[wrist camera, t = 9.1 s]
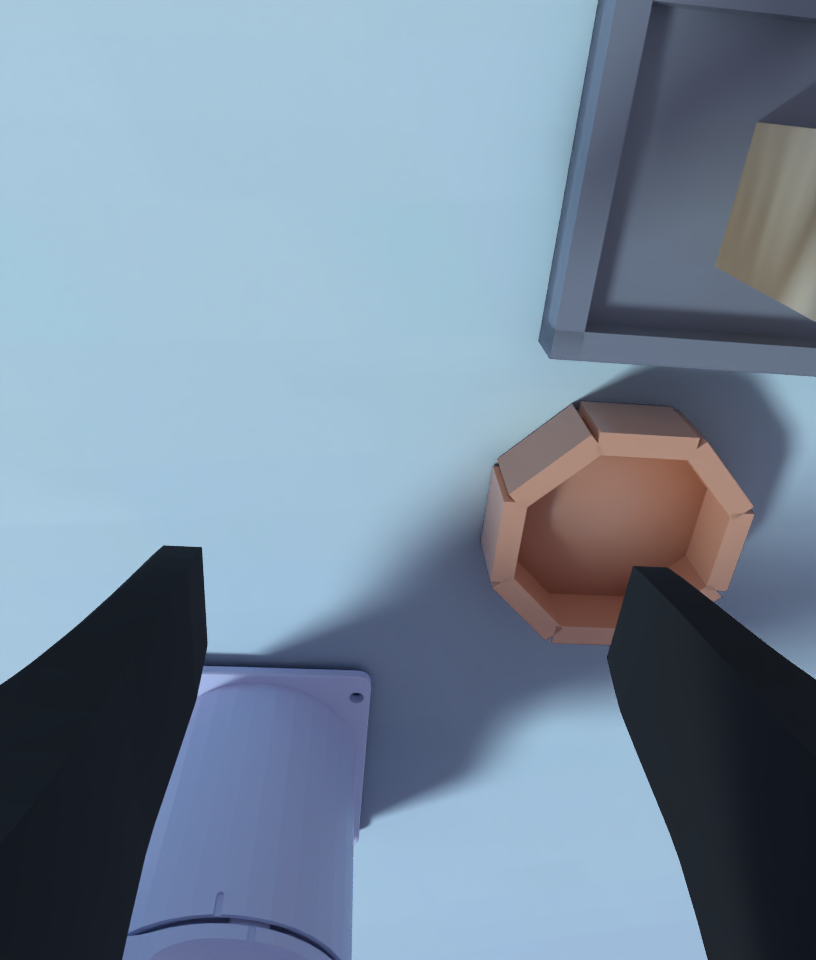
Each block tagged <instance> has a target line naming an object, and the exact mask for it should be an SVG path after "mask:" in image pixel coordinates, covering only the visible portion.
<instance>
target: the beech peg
mask: <svg viewBox="0 0 816 960" xmlns="http://www.w3.org/2000/svg"><path fill="white" fill-rule="evenodd" d="M715 267H717V268H718V269H720V270H722V271H724V272H726V273H728V274H729V275H731V276H733V277H735V278H737V279H738V280H740V281H742V282H744V283H746V284H747V285H749V286H751V287H753V288H755V289H757V290H758V291H760V292H762V293H764V294H766V295H767V296H769V297H771V298H773V299H775V300H776V301H778V302H780V303H782V304H784V305H786V306H787V307H789V308H791V309H793V310H795V311H796V312H798V313H800V314H802V315H804V316H805V317H807V318H809V319H811V320H813V321H815V322H816V128H807V127H798V126H788V125H779V124H769V123H760V122H757V123H756V127H755V130H754V134H753V137H752V141H751V144H750V148H749V151H748V154H747V158H746V161H745V165H744V168H743V172H742V175H741V179H740V182H739V186H738V189H737V193H736V196H735V200H734V203H733V206H732V210H731V213H730V217H729V220H728V224H727V227H726V231H725V234H724V238H723V241H722V245H721V248H720V252H719V255H718V259H717V262H716V265H715Z"/></svg>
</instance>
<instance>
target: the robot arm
mask: <svg viewBox="0 0 816 960" xmlns="http://www.w3.org/2000/svg"><path fill="white" fill-rule="evenodd" d="M206 650H207V627H206V610H205V593H204V576H203V558H202V547H184V546H163V547H161V548H160V549H159V550H158V551H157V552H156V553H155V554H153V555H152V556H151V557H150V558H149V559H148V560H147V561H146V562H145V563H144V564H143V565H142V566H141V567H140V568H139V569H138V570H137V571H136V572H135V573H134V574H133V575H132V576H131V577H130V578H129V579H128V580H126V581H125V582H124V583H123V584H122V585H121V586H120V587H119V588H118V589H117V590H116V591H115V592H114V593H113V594H112V595H111V596H110V597H108V598H107V599H106V600H105V601H104V602H103V603H102V604H101V605H100V606H98V607H97V608H96V609H95V610H94V611H93V612H92V613H91V614H90V615H88V616H87V617H86V618H85V619H84V620H83V621H82V622H81V623H80V624H78V625H77V626H76V627H75V628H74V629H73V630H71V631H70V632H69V633H68V634H66V635H65V636H64V637H63V638H61V639H60V640H59V641H58V642H57V643H55V644H54V645H53V646H52V647H50V648H49V649H48V650H47V651H46V652H44V653H43V654H42V655H41V656H39V657H38V658H37V659H36V660H34V661H33V662H32V663H30V664H29V665H28V666H26V667H25V668H24V669H22V670H21V671H20V672H18V673H17V674H15V675H14V676H13V677H11V678H10V679H8V680H7V681H5V682H4V683H2V684H1V685H0V960H351V957H352V900H353V845H355V844H356V843H357V842H358V839H359V827H360V815H361V803H362V791H363V779H364V767H365V755H366V743H367V731H368V719H369V707H370V695H371V678H370V676H369V675H368V674H367V673H365V672H363V671H357V670H324V669H290V668H257V667H224V666H204V660H205V655H206ZM607 660H608V664H609V668H610V673H611V677H612V681H613V685H614V689H615V693H616V697H617V700H618V704H619V708H620V711H621V714H622V717H623V719H624V722H625V724H626V727H627V730H628V732H629V735H630V737H631V740H632V742H633V745H634V747H635V750H636V752H637V755H638V757H639V759H640V762H641V764H642V767H643V769H644V772H645V774H646V776H647V779H648V781H649V784H650V786H651V789H652V791H653V794H654V796H655V798H656V801H657V803H658V806H659V808H660V811H661V813H662V815H663V818H664V820H665V823H666V825H667V828H668V830H669V833H670V835H671V838H672V841H673V844H674V846H675V849H676V852H677V855H678V858H679V860H680V864H681V867H682V870H683V874H684V877H685V881H686V884H687V887H688V891H689V894H690V897H691V901H692V904H693V908H694V911H695V914H696V918H697V921H698V925H699V929H700V932H701V936H702V940H703V944H704V947H705V951H706V955H707V958H708V960H816V679H814V678H813V677H811V676H810V675H808V674H807V673H806V672H804V671H803V670H801V669H800V668H799V667H797V666H796V665H794V664H793V663H791V662H790V661H789V660H787V659H786V658H785V657H783V656H782V655H781V654H779V653H778V652H777V651H775V650H774V649H773V648H771V647H770V646H769V645H767V644H766V643H765V642H763V641H762V640H761V639H759V638H758V637H757V636H756V635H754V634H753V633H752V632H750V631H749V630H748V629H747V628H745V627H744V626H743V625H742V624H740V623H739V622H738V621H736V620H735V619H734V618H733V617H731V616H730V615H729V614H728V613H726V612H725V611H724V610H723V609H721V608H720V607H719V606H718V605H716V604H715V603H714V602H713V601H711V600H710V599H709V598H708V597H706V596H705V595H704V594H703V593H701V592H700V591H699V590H698V589H696V588H695V587H694V586H692V585H691V584H690V583H689V582H687V581H686V580H685V579H683V578H682V577H681V576H679V575H678V574H676V573H675V572H674V571H672V570H671V569H669V568H668V567H645V566H633V567H632V571H631V574H630V578H629V582H628V585H627V589H626V592H625V596H624V599H623V603H622V606H621V610H620V613H619V617H618V621H617V624H616V628H615V631H614V635H613V638H612V642H611V645H610V649H609V652H608V656H607ZM353 693H361V695H352V694H353Z"/></svg>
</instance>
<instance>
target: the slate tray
mask: <svg viewBox="0 0 816 960" xmlns="http://www.w3.org/2000/svg"><path fill="white" fill-rule="evenodd" d="M757 122H760V123H769V124H779V125H788V126H798V127H807V128H816V0H598V5H597V11H596V17H595V22H594V28H593V34H592V39H591V45H590V51H589V56H588V62H587V68H586V73H585V79H584V85H583V91H582V96H581V102H580V108H579V113H578V119H577V125H576V130H575V136H574V142H573V147H572V153H571V159H570V164H569V170H568V176H567V182H566V187H565V193H564V199H563V204H562V210H561V216H560V221H559V227H558V233H557V238H556V244H555V250H554V255H553V261H552V267H551V272H550V278H549V284H548V290H547V295H546V301H545V307H544V312H543V318H542V324H541V329H540V335H539V343H540V344H541V346H542V348H543V349H544V351H545V352H546V354H547V355H548V357H549V358H550V359H560V360H575V361H590V362H605V363H619V364H634V365H649V366H664V367H679V368H694V369H709V370H724V371H739V372H754V373H769V374H784V375H799V376H814V377H816V322H815V321H813V320H811V319H809V318H807V317H805V316H804V315H802V314H800V313H798V312H796V311H795V310H793V309H791V308H789V307H787V306H786V305H784V304H782V303H780V302H778V301H776V300H775V299H773V298H771V297H769V296H767V295H766V294H764V293H762V292H760V291H758V290H757V289H755V288H753V287H751V286H749V285H747V284H746V283H744V282H742V281H740V280H738V279H737V278H735V277H733V276H731V275H729V274H728V273H726V272H724V271H722V270H720V269H718V268H717V267H715V265H716V262H717V259H718V255H719V252H720V248H721V245H722V241H723V238H724V234H725V231H726V227H727V224H728V220H729V217H730V213H731V210H732V206H733V203H734V200H735V196H736V193H737V189H738V186H739V182H740V179H741V175H742V172H743V168H744V165H745V161H746V158H747V154H748V151H749V148H750V144H751V141H752V137H753V134H754V130H755V127H756V123H757Z"/></svg>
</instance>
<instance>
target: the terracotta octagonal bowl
mask: <svg viewBox="0 0 816 960" xmlns="http://www.w3.org/2000/svg"><path fill="white" fill-rule="evenodd" d="M497 461H498V464H499V466H493V467H492V473H491V479H490V486H489V492H488V498H487V505H486V511H485V517H484V524H483V530H482V536H481V545H482V549H483V553H484V557H485V561H486V565H487V569H488V574H489V578H490V581H491V584H492V588H493V589H494V590H495V591H496V592H497V593H498V594H499V595H500V596H501V597H502V598H503V599H504V600H505V601H506V602H507V603H508V604H509V605H510V606H511V607H512V608H513V609H514V610H515V611H516V612H517V613H518V614H519V615H520V616H521V617H522V618H523V619H524V620H525V621H526V622H527V623H528V624H529V625H530V626H531V627H532V628H533V629H534V630H535V631H536V632H537V633H538V634H539V635H540V636H541V637H542V638H543V639H544V640H547V639H548V638H550V639H551V642H552V643H561V644H591V645H611V642H612V638H613V635H614V631H615V628H616V624H617V621H618V617H619V613H620V610H621V606H622V603H623V599H624V596H625V592H626V589H627V585H628V582H629V578H630V574H631V571H632V567H633V566H645V567H668V568H669V569H671V570H672V571H674V572H675V573H676V574H678V575H679V576H681V577H682V578H683V579H685V580H686V581H687V582H689V583H690V584H691V585H692V586H694V587H695V588H696V589H698V590H699V591H700V592H701V593H703V594H704V595H705V596H706V597H708V598H709V599H710V600H711V601H713V602H714V601H716V600H718V599H719V598H721V596H720V594H719V593H718V591H727V589H728V586H729V584H730V581H731V578H732V575H733V573H734V570H735V567H736V564H737V562H738V559H739V556H740V553H741V551H742V548H743V545H744V542H745V539H746V537H747V534H748V531H749V528H750V526H751V523H752V520H753V517H754V515H755V514H754V513H753V512H752V511H751V508H753V507H754V506H753V505H752V503H751V502H750V501H749V499H748V498H747V496H746V495H745V494H744V492H743V491H742V489H741V488H740V487H739V485H738V484H737V482H736V481H735V480H734V478H733V477H732V475H731V474H730V473H729V471H728V470H727V468H726V467H725V466H724V464H723V463H722V461H721V460H720V459H719V457H718V456H717V454H716V453H715V452H714V450H713V449H712V447H711V446H710V445H709V443H708V442H707V441H706V440H705V439H704V438H703V436H702V435H701V434H700V433H699V432H698V431H697V430H696V429H695V428H694V427H693V426H692V425H691V424H690V422H689V421H688V420H687V419H686V418H685V417H684V416H683V415H682V414H681V413H680V412H679V411H677V412H676V411H675V410H674V409H673V408H672V407H668V406H652V405H636V404H619V403H603V402H587V401H580V406H579V410H577V409H576V408H575V407H574V406H573V404H571V405H570V406H568V407H567V408H565V409H564V410H563V411H561V412H560V413H559V414H557V415H556V416H555V417H553V418H552V419H551V420H549V421H548V422H547V423H545V424H544V425H542V426H541V427H540V428H538V429H537V430H536V431H534V432H533V433H532V434H530V435H529V436H528V437H526V438H525V439H524V440H522V441H521V442H519V443H518V444H517V445H515V446H514V447H513V448H511V449H510V450H509V451H507V452H506V453H505V454H503V455H502V456H501V457H499V458H498V459H497Z"/></svg>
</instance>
